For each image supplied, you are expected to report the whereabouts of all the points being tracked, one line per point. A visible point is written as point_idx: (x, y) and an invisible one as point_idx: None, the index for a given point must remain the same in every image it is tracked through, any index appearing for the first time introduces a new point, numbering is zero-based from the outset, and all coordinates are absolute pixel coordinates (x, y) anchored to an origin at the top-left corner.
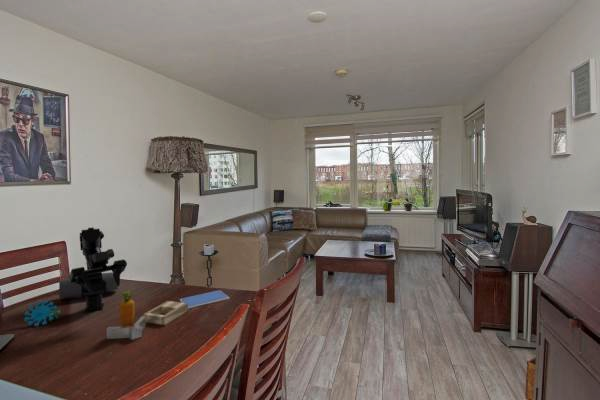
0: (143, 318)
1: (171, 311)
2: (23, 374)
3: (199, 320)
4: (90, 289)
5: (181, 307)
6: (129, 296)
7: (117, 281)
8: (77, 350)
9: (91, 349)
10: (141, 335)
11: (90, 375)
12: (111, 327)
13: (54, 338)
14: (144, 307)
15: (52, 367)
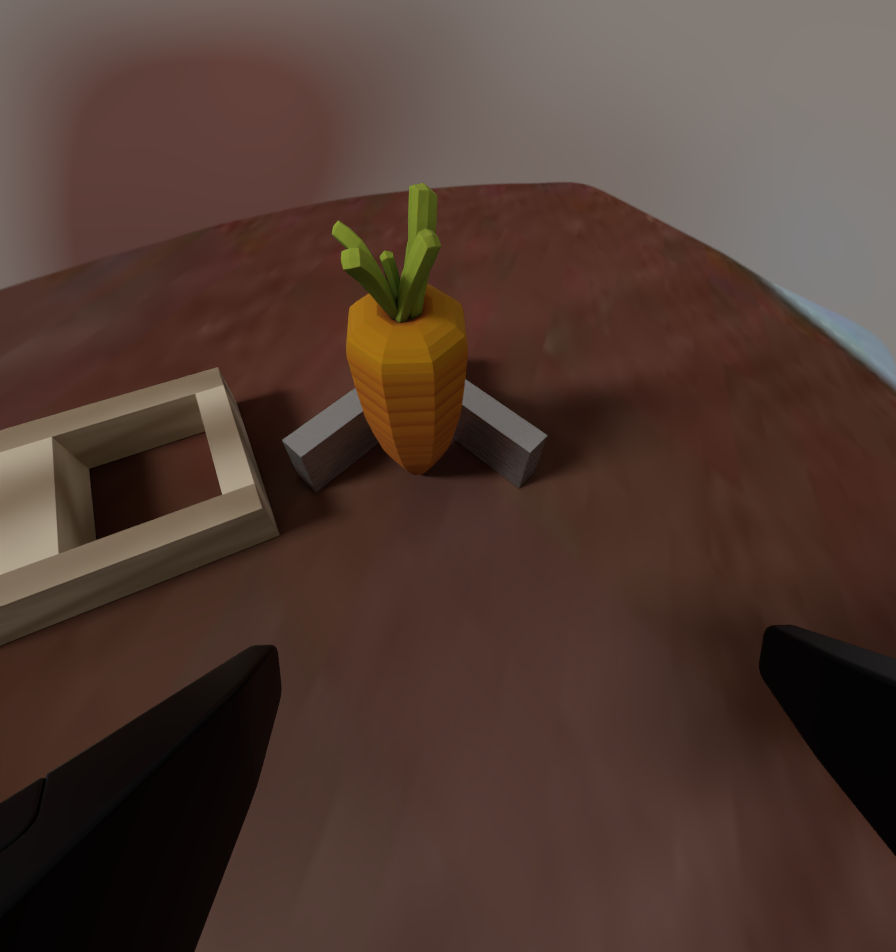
0: (317, 416)
1: (121, 410)
2: (876, 416)
3: (100, 332)
4: (838, 640)
5: (23, 424)
6: (381, 259)
7: (242, 694)
8: (680, 458)
9: (618, 422)
10: None
11: (635, 270)
12: (517, 435)
13: None
14: None
15: (769, 391)
